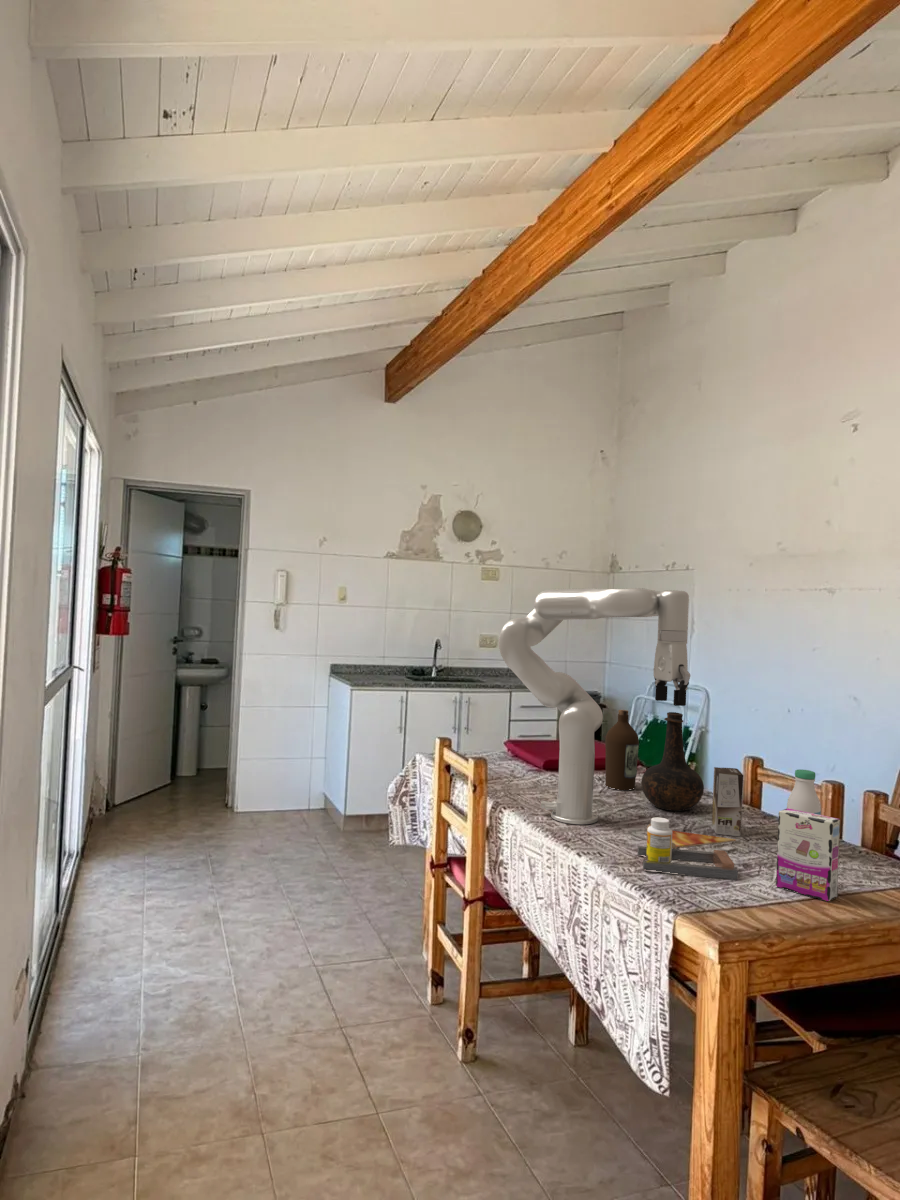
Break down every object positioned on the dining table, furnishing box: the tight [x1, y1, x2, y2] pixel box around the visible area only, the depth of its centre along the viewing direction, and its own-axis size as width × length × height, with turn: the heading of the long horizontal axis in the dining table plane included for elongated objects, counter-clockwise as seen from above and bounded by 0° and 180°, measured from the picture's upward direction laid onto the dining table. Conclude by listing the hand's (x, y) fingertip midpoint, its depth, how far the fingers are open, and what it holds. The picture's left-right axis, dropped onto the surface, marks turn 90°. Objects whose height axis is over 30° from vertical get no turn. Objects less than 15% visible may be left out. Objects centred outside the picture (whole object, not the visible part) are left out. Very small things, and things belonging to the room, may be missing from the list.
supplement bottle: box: [645, 816, 673, 863], centre depth 177 cm, size 6×6×10 cm
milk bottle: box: [786, 769, 822, 815], centre depth 191 cm, size 8×8×20 cm
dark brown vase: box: [640, 711, 705, 812], centre depth 229 cm, size 18×18×28 cm
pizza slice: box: [646, 823, 737, 849], centre depth 195 cm, size 16×22×2 cm
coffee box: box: [711, 766, 745, 837], centre depth 207 cm, size 9×6×16 cm
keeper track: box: [637, 845, 739, 880], centre depth 177 cm, size 20×12×3 cm, turn 83°
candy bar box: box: [775, 807, 841, 902], centre depth 164 cm, size 11×5×16 cm, turn 45°
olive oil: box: [604, 709, 640, 791], centre depth 252 cm, size 11×11×25 cm
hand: (670, 703), depth 203 cm, fingers open, 9 cm apart
